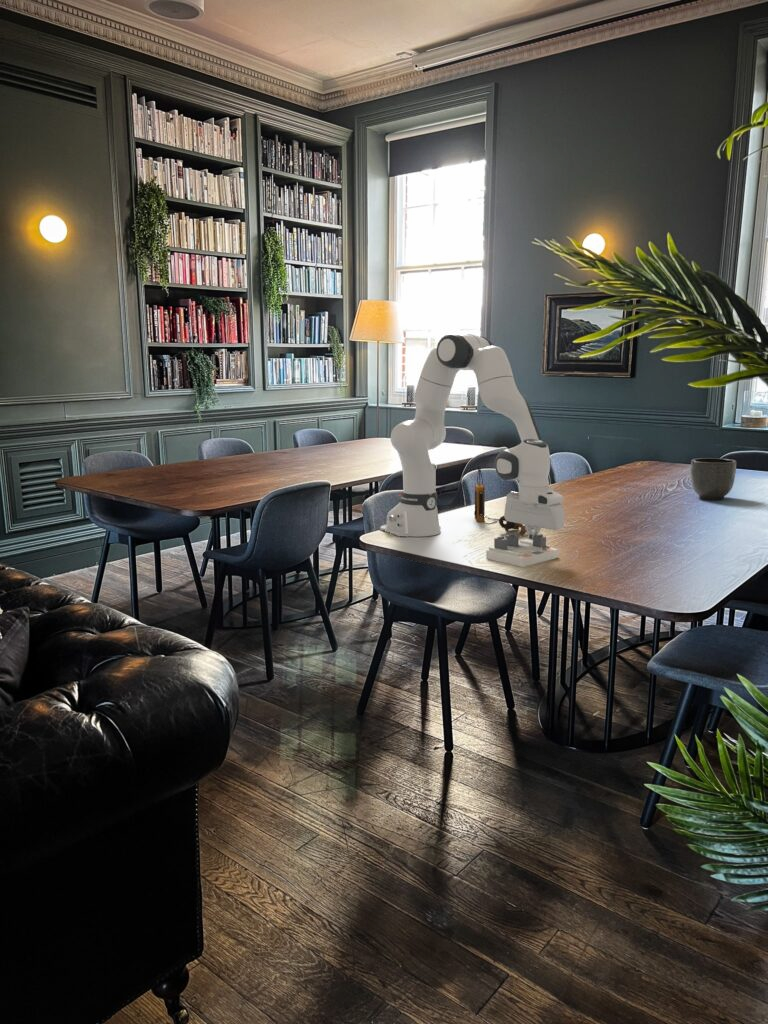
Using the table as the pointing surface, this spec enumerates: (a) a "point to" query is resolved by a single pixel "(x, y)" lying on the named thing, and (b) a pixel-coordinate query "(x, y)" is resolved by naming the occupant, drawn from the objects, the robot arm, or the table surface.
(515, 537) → the tab middle
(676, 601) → the table surface
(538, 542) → the tab
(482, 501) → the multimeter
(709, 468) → the planter
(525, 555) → the switch board
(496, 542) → the tab
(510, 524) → the brown curved ring piece
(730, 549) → the table surface
